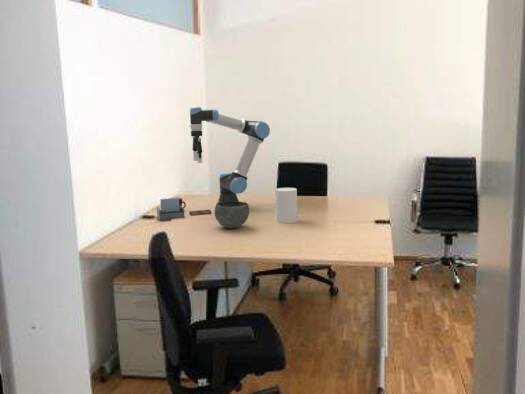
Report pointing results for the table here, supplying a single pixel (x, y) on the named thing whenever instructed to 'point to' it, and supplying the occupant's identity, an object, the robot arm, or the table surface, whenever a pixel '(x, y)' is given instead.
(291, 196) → the canister
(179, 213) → the rack
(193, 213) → the stand
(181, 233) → the table surface
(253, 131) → the robot arm
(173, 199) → the light blue slab
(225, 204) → the bowl
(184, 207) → the mug
